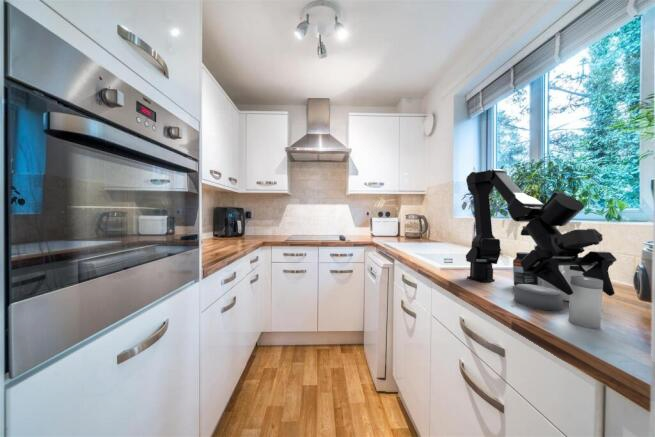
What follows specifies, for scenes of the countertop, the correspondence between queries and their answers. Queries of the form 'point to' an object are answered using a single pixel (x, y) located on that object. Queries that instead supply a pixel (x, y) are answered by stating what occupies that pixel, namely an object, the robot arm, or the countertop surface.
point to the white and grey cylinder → (586, 301)
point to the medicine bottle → (569, 277)
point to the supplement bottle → (522, 271)
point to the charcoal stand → (538, 297)
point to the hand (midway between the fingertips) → (591, 294)
